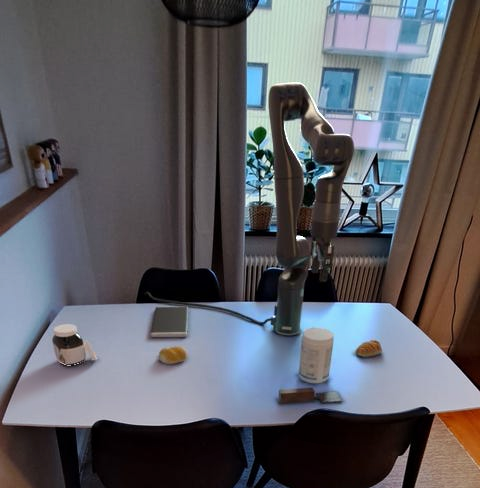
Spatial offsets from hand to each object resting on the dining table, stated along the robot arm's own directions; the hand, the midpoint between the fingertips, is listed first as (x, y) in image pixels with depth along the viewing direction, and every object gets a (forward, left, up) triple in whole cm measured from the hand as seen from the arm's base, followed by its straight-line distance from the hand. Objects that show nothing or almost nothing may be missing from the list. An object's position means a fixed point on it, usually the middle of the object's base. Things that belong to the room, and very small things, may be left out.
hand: (318, 276), depth 143 cm
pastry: (+14, +18, -28) cm, 36 cm away
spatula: (+11, -22, -28) cm, 37 cm away
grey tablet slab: (-58, -2, -28) cm, 65 cm away
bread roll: (-38, -25, -28) cm, 54 cm away
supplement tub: (+6, -9, -28) cm, 30 cm away
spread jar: (-62, -44, -28) cm, 81 cm away
